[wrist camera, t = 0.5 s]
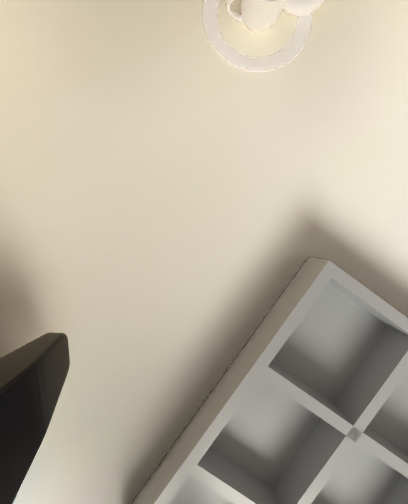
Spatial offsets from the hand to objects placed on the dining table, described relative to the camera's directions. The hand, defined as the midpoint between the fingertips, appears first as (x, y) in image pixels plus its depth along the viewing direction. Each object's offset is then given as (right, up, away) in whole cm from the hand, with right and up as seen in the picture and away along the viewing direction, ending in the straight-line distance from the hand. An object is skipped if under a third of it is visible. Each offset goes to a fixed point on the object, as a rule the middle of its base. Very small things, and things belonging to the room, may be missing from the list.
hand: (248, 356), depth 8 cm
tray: (+6, -12, +16) cm, 21 cm away
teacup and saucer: (+5, +18, +16) cm, 24 cm away
